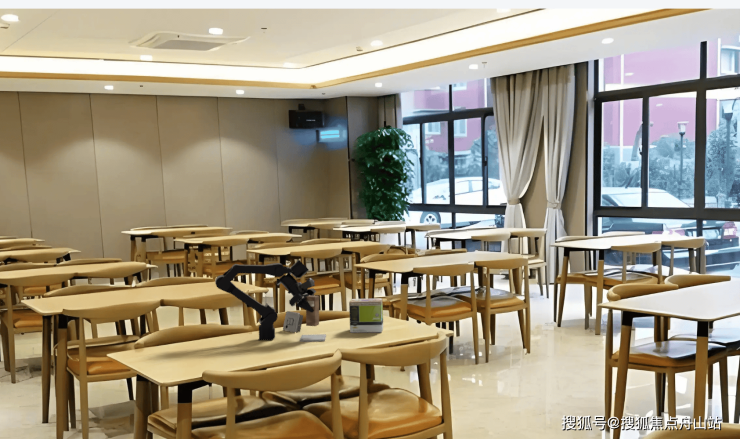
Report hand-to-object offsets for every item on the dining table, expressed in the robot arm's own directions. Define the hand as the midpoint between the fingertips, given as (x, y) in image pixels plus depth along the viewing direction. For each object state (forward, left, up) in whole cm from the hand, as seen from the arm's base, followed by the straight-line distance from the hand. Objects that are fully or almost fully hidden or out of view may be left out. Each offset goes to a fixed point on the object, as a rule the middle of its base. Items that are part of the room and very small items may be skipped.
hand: (315, 310), depth 320 cm
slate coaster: (-1, 0, -13) cm, 13 cm away
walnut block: (-1, 0, -6) cm, 7 cm away
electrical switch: (-12, +19, -13) cm, 26 cm away
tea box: (+23, +16, -13) cm, 31 cm away
